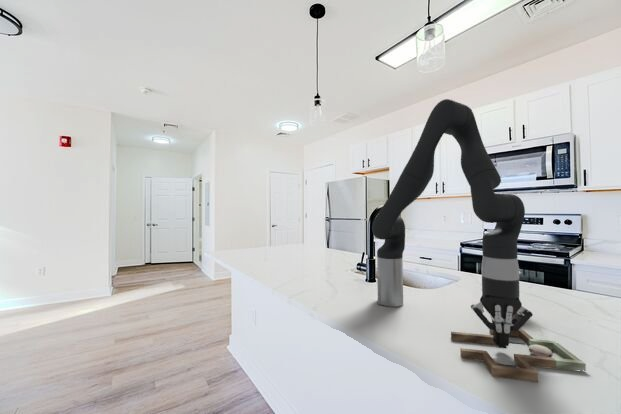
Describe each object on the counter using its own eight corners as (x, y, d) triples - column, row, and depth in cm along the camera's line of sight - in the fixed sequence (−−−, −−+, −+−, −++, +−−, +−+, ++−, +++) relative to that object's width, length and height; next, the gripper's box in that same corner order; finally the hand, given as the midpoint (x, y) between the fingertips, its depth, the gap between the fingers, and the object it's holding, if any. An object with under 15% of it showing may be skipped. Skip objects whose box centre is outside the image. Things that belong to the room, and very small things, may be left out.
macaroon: (526, 355, 65) (526, 344, 65) (533, 348, 68) (532, 338, 68) (550, 363, 62) (549, 352, 62) (555, 356, 65) (555, 345, 65)
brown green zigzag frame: (470, 373, 58) (470, 365, 58) (445, 328, 80) (445, 322, 80) (609, 391, 52) (609, 381, 52) (541, 337, 74) (541, 330, 74)
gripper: (474, 277, 65) (475, 351, 64) (540, 280, 61) (541, 358, 61) (465, 270, 72) (466, 336, 72) (523, 273, 69) (524, 342, 68)
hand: (501, 346), depth 66 cm, fingers closed
